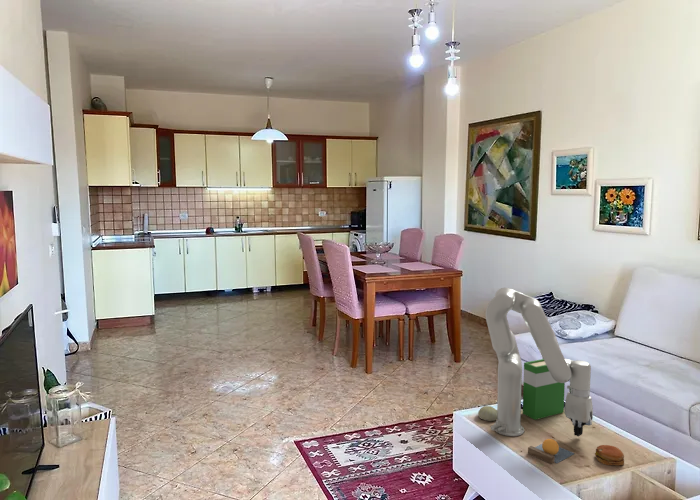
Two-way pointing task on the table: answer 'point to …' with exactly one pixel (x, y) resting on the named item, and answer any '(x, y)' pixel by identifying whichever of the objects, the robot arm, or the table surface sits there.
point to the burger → (609, 455)
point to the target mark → (560, 455)
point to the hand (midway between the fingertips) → (578, 434)
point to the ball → (550, 446)
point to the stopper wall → (541, 454)
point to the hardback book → (541, 391)
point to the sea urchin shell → (488, 413)
